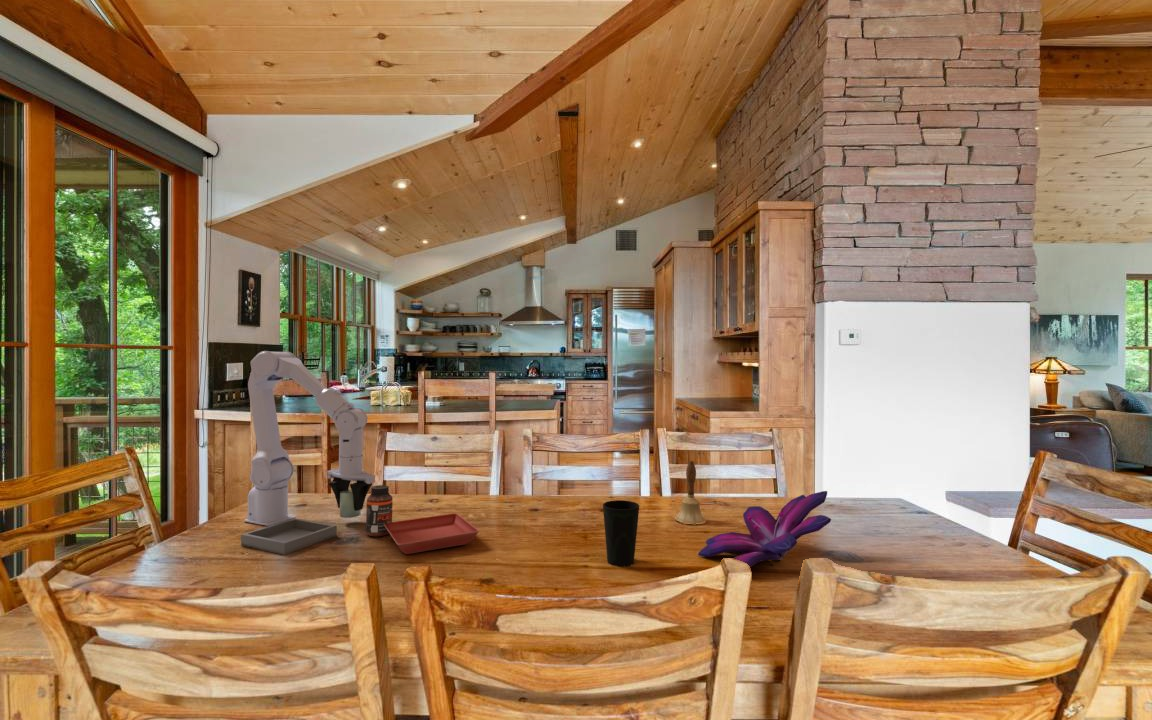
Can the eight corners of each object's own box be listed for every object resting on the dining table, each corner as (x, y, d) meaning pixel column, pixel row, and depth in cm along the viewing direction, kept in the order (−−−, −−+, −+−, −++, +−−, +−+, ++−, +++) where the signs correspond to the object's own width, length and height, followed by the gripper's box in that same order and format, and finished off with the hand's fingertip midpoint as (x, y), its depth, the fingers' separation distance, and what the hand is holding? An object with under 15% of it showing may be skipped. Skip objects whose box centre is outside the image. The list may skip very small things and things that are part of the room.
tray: (241, 545, 123) (241, 534, 123) (295, 528, 136) (295, 518, 136) (284, 554, 118) (284, 543, 118) (336, 536, 131) (336, 525, 131)
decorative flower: (733, 620, 101) (709, 569, 102) (702, 569, 131) (684, 530, 132) (884, 550, 101) (859, 500, 102) (818, 516, 131) (799, 477, 132)
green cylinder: (335, 516, 140) (335, 492, 140) (350, 511, 144) (350, 488, 144) (349, 518, 138) (350, 494, 138) (364, 513, 142) (365, 490, 142)
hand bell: (713, 522, 144) (713, 461, 144) (690, 527, 140) (691, 464, 140) (689, 514, 151) (690, 457, 151) (667, 519, 146) (668, 459, 146)
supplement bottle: (378, 538, 128) (379, 490, 128) (360, 535, 131) (361, 487, 131) (397, 532, 134) (398, 485, 134) (379, 528, 136) (380, 483, 136)
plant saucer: (382, 536, 131) (382, 522, 131) (456, 524, 139) (456, 511, 139) (397, 560, 115) (397, 544, 115) (480, 545, 123) (480, 531, 123)
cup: (600, 555, 119) (600, 500, 119) (635, 554, 119) (635, 499, 119) (605, 569, 111) (605, 510, 111) (642, 568, 112) (642, 509, 112)
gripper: (384, 455, 142) (383, 508, 142) (342, 451, 147) (341, 501, 147) (363, 460, 135) (362, 515, 135) (320, 455, 141) (320, 508, 141)
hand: (350, 508), depth 141 cm, fingers closed on green cylinder, 5 cm apart
